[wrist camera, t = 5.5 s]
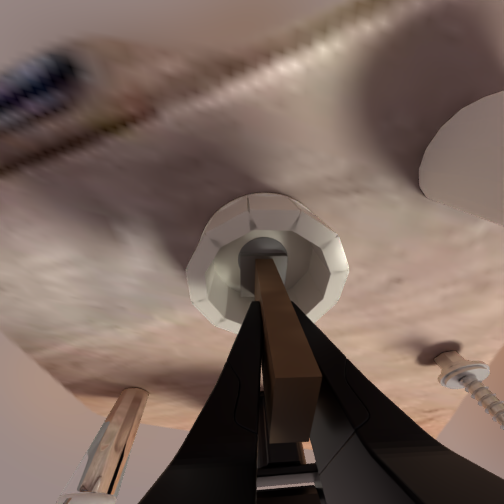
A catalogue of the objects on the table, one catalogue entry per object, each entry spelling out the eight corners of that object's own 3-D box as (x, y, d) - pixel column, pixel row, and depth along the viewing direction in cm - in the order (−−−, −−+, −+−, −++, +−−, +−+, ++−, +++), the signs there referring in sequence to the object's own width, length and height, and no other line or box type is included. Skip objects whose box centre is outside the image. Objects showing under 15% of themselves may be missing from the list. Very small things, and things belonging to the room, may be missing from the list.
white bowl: (310, 300, 16) (326, 336, 13) (206, 301, 15) (196, 339, 12) (337, 194, 11) (373, 209, 8) (191, 190, 11) (171, 205, 8)
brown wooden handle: (285, 252, 13) (362, 369, 4) (282, 292, 14) (339, 444, 6) (240, 253, 12) (235, 373, 4) (240, 292, 13) (236, 449, 5)
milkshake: (141, 378, 21) (67, 540, 12) (160, 399, 24) (111, 544, 15) (104, 384, 21) (7, 546, 12) (127, 403, 24) (60, 549, 15)
